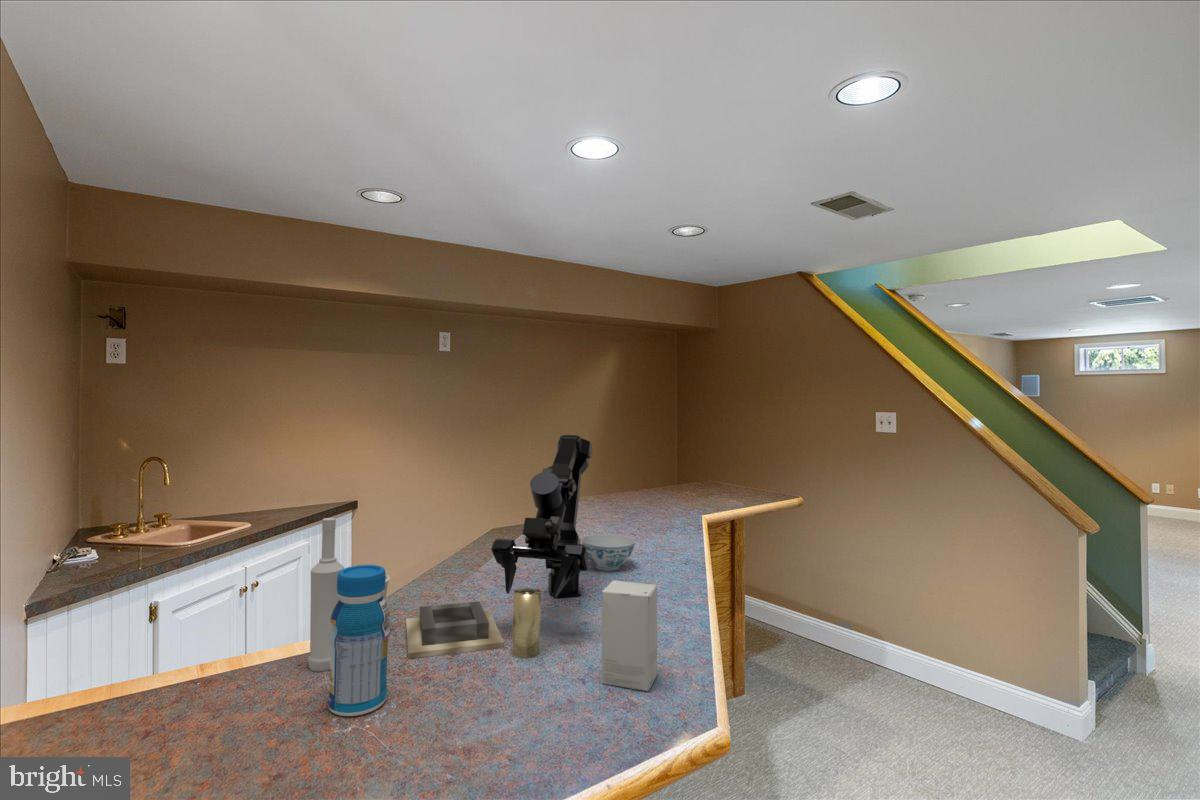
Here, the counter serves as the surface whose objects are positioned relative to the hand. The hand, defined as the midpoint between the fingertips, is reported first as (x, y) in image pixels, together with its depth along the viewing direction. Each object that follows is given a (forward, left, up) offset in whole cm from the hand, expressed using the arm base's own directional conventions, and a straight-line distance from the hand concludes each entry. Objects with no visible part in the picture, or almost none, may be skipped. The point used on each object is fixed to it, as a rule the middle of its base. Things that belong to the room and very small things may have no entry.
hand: (530, 594), depth 108 cm
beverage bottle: (+29, +12, -10) cm, 33 cm away
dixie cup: (+29, -18, -10) cm, 35 cm away
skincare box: (-13, +17, -10) cm, 24 cm away
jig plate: (+13, -10, -10) cm, 19 cm away
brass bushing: (+1, +2, -10) cm, 10 cm away
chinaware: (-33, -46, -10) cm, 57 cm away
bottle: (+35, -3, -10) cm, 37 cm away
